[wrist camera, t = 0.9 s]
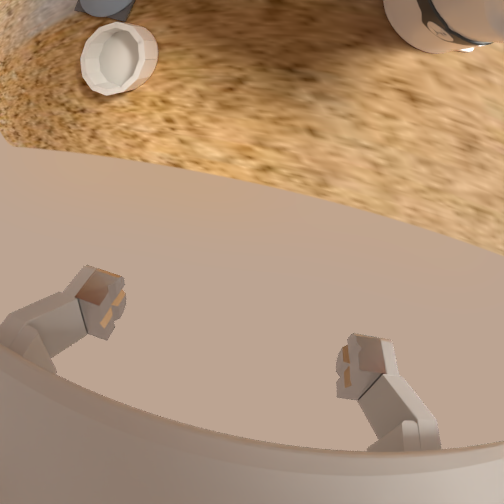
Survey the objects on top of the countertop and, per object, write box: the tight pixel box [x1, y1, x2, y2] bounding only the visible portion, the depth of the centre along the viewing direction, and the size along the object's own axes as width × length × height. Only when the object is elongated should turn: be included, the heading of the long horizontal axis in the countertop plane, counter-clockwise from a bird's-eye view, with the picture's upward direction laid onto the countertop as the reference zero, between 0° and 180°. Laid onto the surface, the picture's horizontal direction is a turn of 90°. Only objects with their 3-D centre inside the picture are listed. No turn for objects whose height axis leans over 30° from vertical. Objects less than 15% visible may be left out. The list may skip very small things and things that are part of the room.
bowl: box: [80, 22, 158, 96], centre depth 39 cm, size 12×12×5 cm
